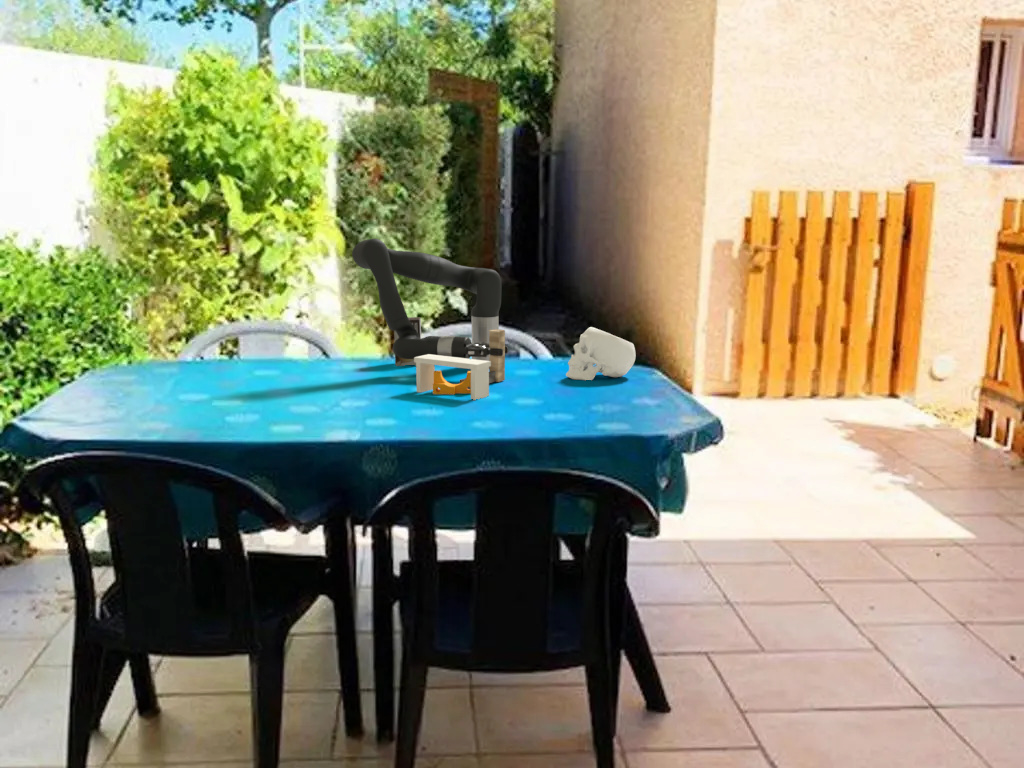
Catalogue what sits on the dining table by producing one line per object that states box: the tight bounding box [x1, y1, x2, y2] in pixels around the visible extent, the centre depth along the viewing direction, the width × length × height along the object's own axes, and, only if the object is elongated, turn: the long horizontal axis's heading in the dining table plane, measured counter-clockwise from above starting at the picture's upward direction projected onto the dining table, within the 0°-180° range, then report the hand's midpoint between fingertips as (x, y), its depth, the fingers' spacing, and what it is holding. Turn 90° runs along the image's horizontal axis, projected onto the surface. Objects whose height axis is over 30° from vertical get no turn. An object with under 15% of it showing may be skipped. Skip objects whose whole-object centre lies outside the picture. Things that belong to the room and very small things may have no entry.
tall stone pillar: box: [459, 329, 506, 390], centre depth 314 cm, size 20×4×16 cm, turn 146°
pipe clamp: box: [432, 370, 471, 395], centre depth 304 cm, size 12×4×6 cm, turn 85°
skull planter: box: [565, 326, 637, 381], centre depth 328 cm, size 14×20×19 cm
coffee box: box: [393, 316, 422, 367], centre depth 351 cm, size 9×6×16 cm
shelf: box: [414, 354, 491, 401], centre depth 302 cm, size 7×23×10 cm, turn 57°
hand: (505, 351), depth 320 cm, fingers closed on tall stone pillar, 4 cm apart
